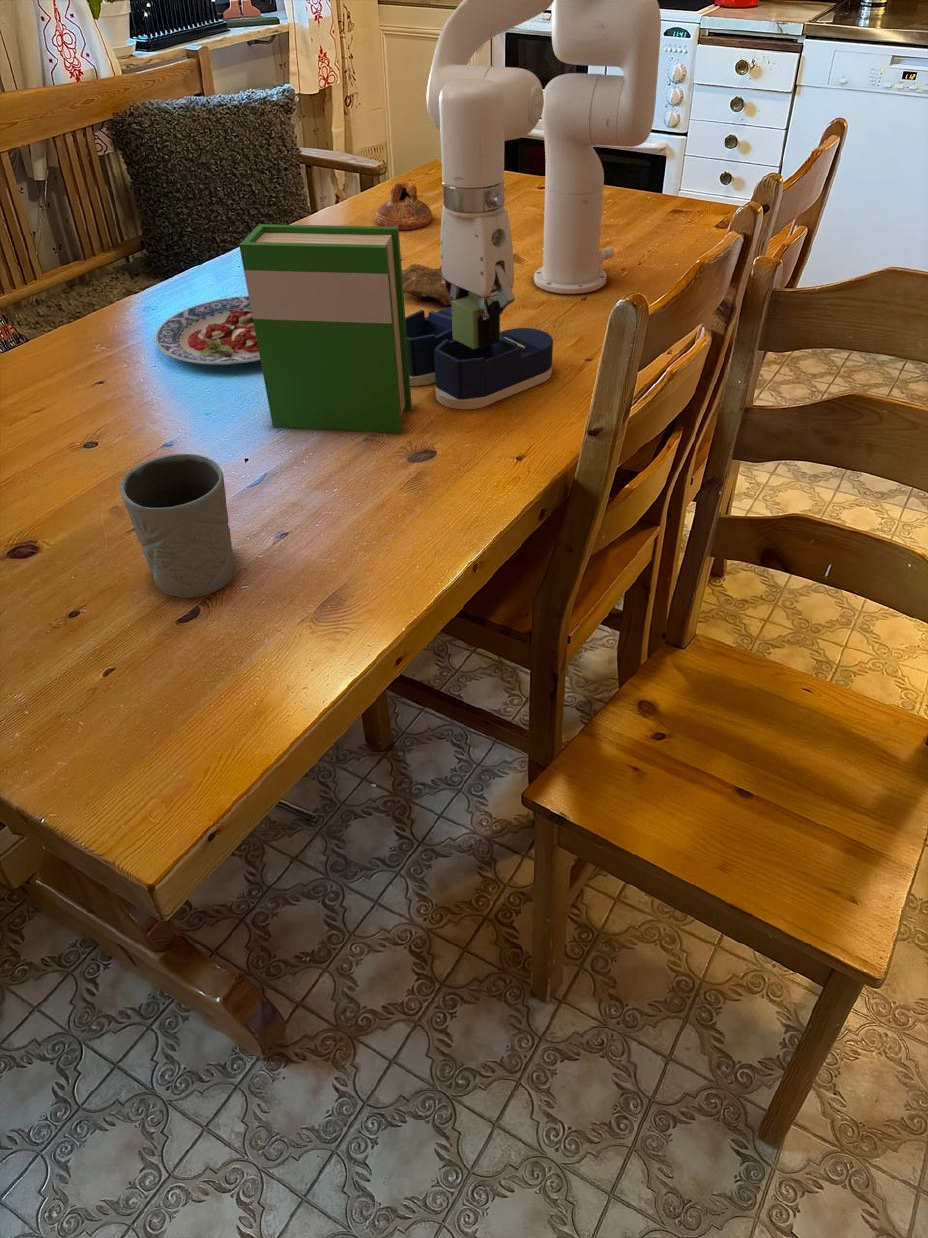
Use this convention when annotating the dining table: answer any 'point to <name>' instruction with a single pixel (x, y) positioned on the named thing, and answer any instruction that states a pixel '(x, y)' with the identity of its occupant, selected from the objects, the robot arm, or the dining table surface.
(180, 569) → the grey embossed cup
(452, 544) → the dining table surface
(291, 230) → the hardback book
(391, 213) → the bell
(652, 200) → the dining table surface
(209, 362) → the ceramic plate
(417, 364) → the sneaker
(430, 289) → the decorative rock
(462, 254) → the robot arm
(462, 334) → the green block
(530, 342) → the sneaker
